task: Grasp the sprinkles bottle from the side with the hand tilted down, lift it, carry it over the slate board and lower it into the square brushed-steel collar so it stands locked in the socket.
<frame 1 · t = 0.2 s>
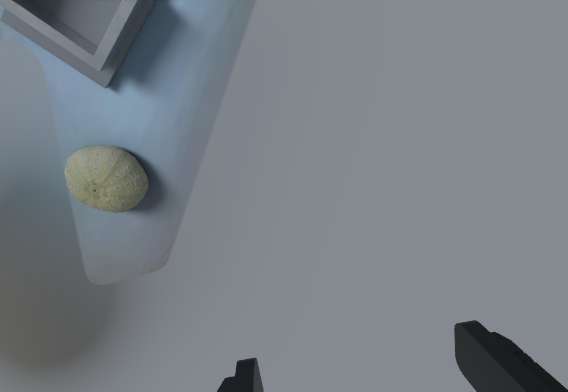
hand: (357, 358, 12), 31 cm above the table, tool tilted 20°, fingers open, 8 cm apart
sea urchin shell: (113, 171, 40), on the table
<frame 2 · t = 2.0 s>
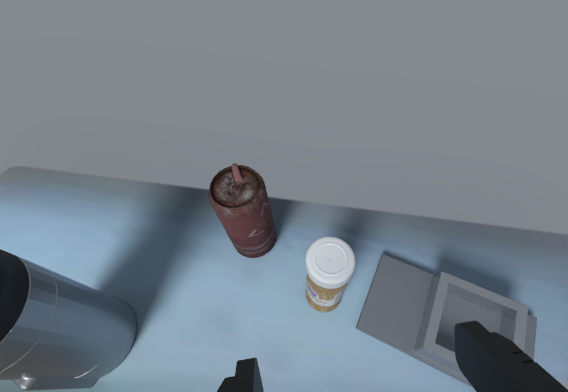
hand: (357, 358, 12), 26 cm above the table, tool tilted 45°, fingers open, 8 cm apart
slate board: (442, 323, 36), on the table
can: (255, 238, 43), on the table
collar: (464, 330, 34), resting on slate board
sprinkles bottle: (323, 294, 39), on the table
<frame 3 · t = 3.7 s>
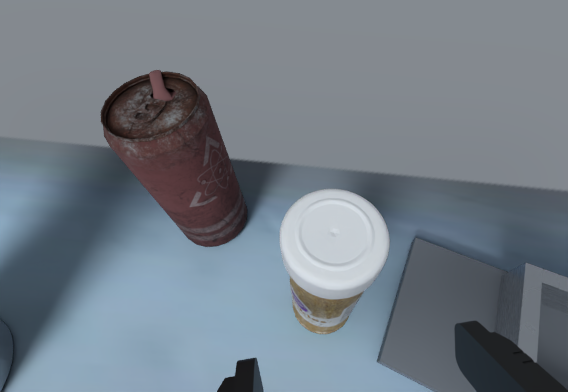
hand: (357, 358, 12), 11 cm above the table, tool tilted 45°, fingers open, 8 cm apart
slate board: (525, 353, 21), on the table
can: (216, 218, 28), on the table
sprinkles bottle: (321, 304, 24), on the table
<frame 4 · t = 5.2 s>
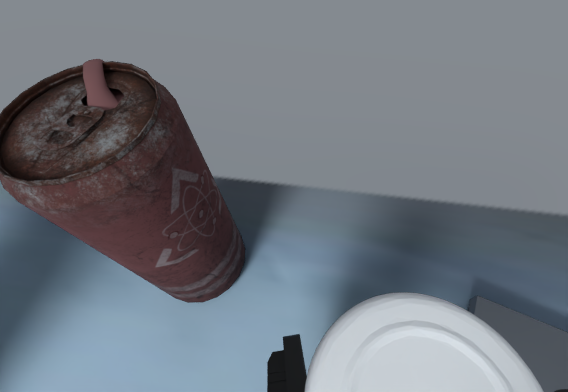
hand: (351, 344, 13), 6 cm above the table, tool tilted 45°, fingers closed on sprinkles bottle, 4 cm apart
can: (204, 259, 22), on the table
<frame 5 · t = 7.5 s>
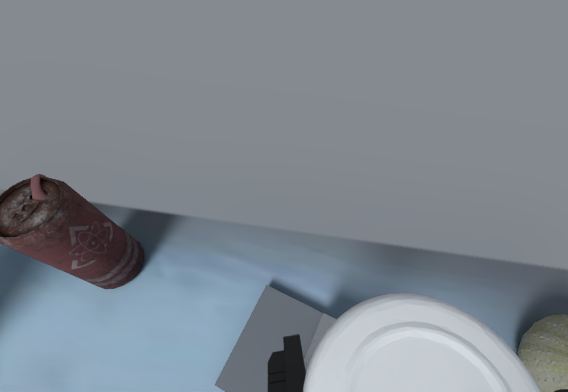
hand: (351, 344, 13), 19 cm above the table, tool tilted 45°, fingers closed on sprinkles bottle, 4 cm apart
slate board: (327, 379, 28), on the table
can: (120, 263, 35), on the table
collar: (349, 390, 26), resting on slate board
sea urchin shell: (563, 374, 27), on the table
when the fingers open (8 cm above the table, at t = 9.9 s): sprinkles bottle drops 1 cm, resting on slate board.
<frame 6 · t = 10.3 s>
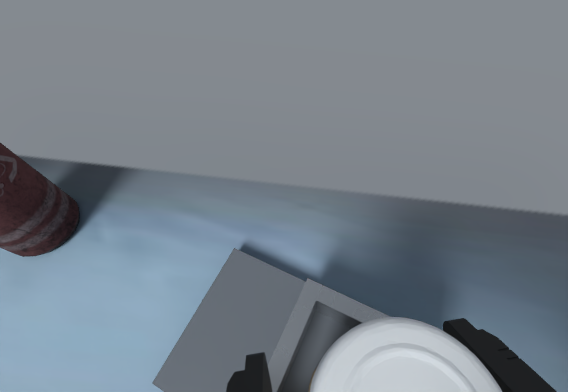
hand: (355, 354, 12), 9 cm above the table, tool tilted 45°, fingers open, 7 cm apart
slate board: (314, 375, 19), on the table
can: (50, 225, 27), on the table
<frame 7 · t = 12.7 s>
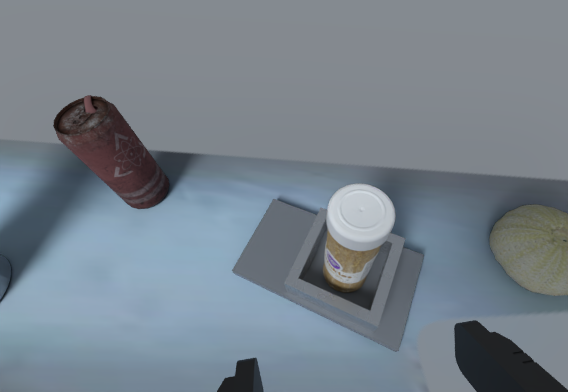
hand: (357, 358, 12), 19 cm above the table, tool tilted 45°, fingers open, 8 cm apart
slate board: (326, 266, 33), on the table
can: (149, 191, 41), on the table
collar: (344, 270, 32), resting on slate board
sea urchin shell: (530, 256, 32), on the table
sprinkles bottle: (344, 272, 32), point 1 cm above the table, touching slate board
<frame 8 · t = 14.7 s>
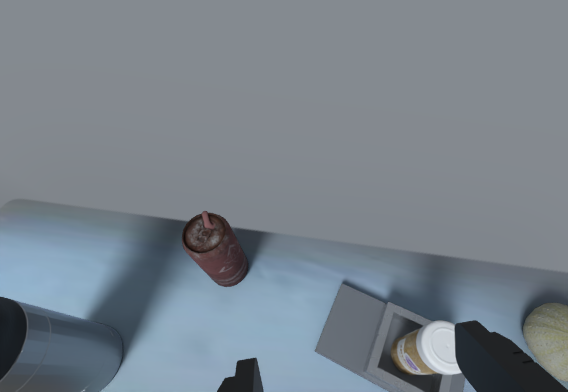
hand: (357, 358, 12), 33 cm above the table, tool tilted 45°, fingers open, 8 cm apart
slate board: (390, 347, 41), on the table
can: (230, 268, 48), on the table
collar: (407, 354, 39), resting on slate board
sea urchin shell: (555, 343, 40), on the table
sprinkles bottle: (407, 355, 39), point 1 cm above the table, touching slate board
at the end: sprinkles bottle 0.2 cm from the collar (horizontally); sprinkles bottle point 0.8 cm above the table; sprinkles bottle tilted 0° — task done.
